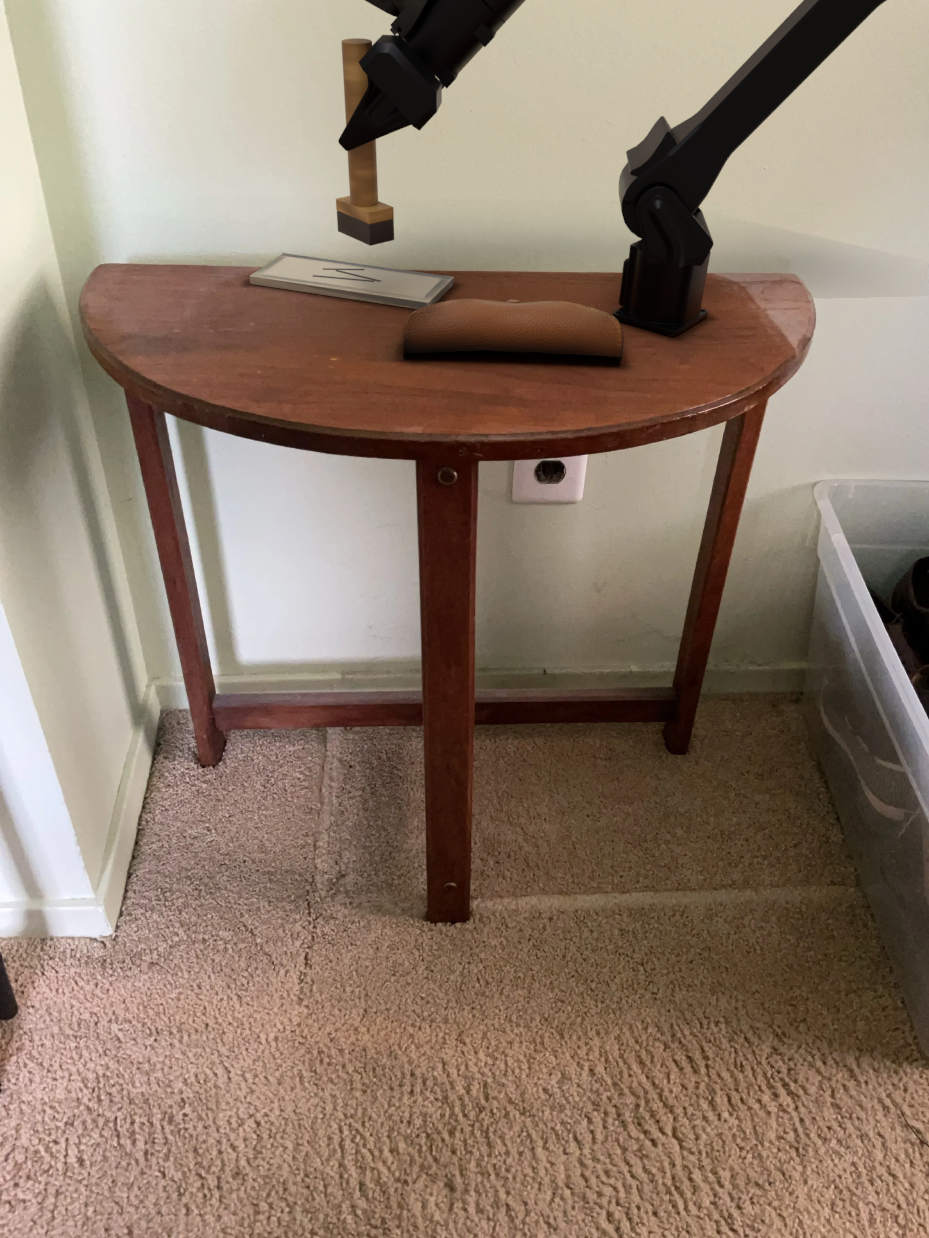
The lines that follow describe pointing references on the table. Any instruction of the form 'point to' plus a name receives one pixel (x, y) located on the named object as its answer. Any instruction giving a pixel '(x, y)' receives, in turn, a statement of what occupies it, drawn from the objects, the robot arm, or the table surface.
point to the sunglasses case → (513, 328)
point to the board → (353, 281)
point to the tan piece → (361, 163)
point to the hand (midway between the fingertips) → (345, 142)
